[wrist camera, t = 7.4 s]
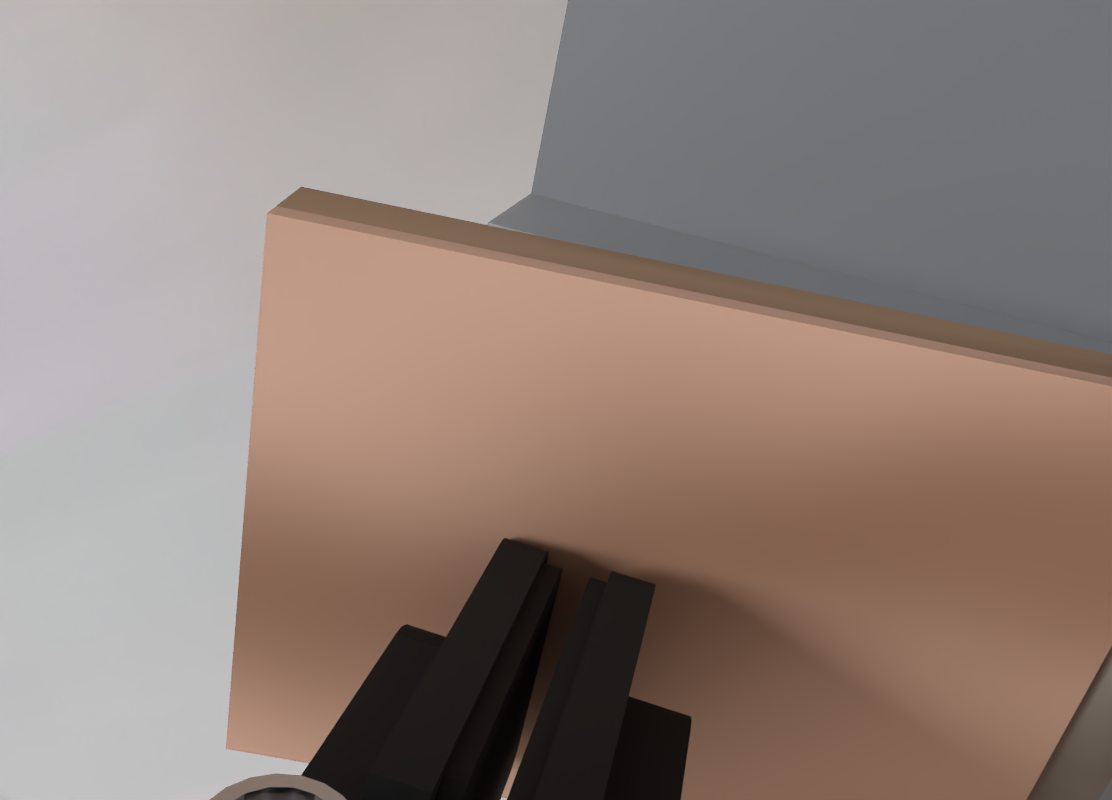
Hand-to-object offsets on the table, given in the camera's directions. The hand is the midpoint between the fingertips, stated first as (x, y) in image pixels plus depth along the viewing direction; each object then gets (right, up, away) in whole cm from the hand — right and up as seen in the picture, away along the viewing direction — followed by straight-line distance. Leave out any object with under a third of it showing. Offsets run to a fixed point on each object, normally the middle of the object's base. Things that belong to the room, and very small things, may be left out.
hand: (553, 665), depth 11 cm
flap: (+2, +1, 0) cm, 2 cm away
